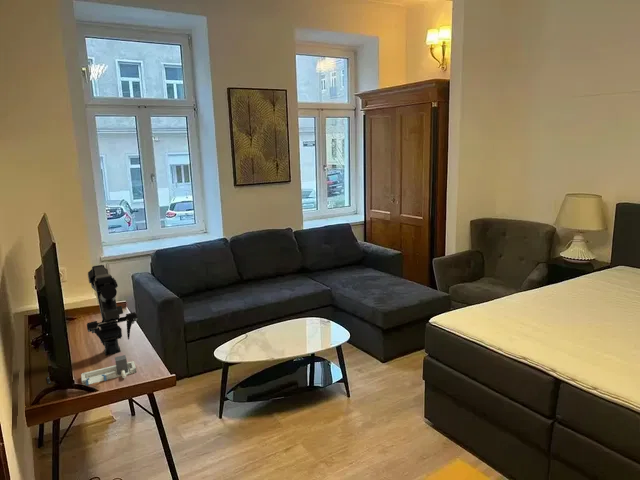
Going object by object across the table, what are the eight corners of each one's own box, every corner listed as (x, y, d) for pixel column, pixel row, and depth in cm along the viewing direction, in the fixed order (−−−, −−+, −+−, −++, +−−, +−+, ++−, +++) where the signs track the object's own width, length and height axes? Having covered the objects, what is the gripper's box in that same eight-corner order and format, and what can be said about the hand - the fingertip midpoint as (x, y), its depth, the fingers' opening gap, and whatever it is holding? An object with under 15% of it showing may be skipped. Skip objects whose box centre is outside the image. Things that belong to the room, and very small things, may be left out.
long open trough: (81, 378, 188) (80, 371, 187) (134, 365, 197) (133, 358, 196) (82, 387, 180) (81, 380, 180) (136, 373, 190) (135, 366, 189)
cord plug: (116, 370, 192) (114, 357, 190) (127, 368, 194) (125, 354, 192) (119, 380, 183) (117, 367, 182) (129, 378, 185) (127, 364, 184)
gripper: (82, 306, 179) (90, 345, 175) (133, 295, 188) (141, 332, 184) (84, 312, 189) (91, 350, 185) (132, 302, 197) (140, 337, 193)
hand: (116, 342), depth 187 cm, fingers open, 9 cm apart
